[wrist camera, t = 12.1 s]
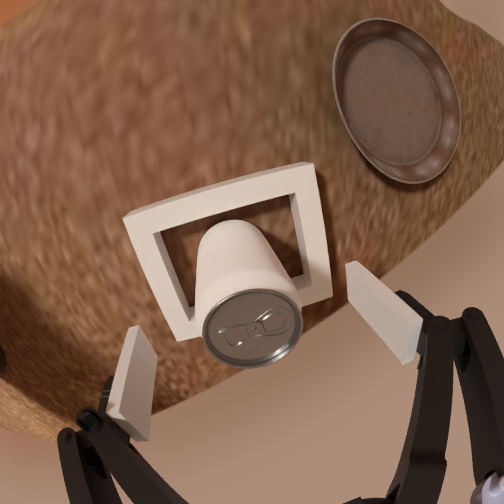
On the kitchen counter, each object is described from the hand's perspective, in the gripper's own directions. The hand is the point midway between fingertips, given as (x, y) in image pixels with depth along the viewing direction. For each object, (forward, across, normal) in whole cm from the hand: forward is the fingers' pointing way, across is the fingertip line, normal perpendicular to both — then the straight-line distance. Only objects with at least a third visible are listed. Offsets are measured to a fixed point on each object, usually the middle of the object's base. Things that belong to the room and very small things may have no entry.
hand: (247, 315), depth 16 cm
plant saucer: (+11, +20, +11) cm, 26 cm away
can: (+10, 0, 0) cm, 11 cm away
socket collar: (+10, 0, 0) cm, 10 cm away
